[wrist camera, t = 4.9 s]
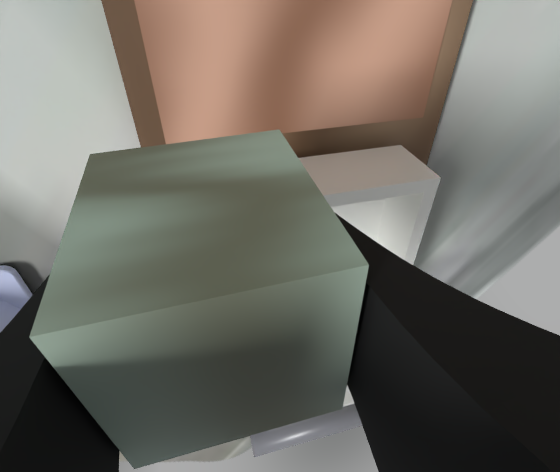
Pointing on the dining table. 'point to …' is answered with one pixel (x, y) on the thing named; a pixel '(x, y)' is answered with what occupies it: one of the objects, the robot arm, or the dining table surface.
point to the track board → (289, 69)
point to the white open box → (375, 224)
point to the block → (201, 295)
